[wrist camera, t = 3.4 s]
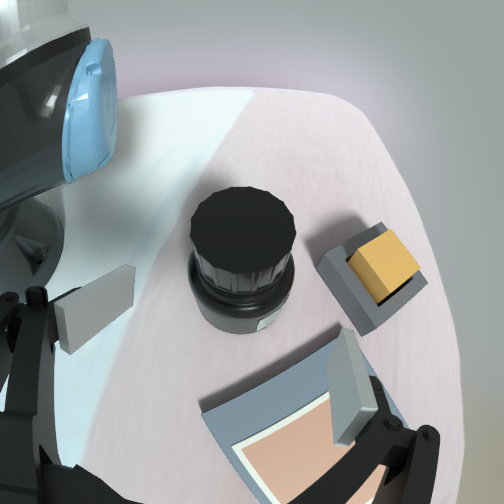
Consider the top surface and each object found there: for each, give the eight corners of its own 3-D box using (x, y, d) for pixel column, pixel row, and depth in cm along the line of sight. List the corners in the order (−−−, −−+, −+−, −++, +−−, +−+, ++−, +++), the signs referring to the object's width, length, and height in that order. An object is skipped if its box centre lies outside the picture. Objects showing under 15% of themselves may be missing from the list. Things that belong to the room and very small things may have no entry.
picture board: (202, 413, 21) (200, 414, 20) (343, 332, 26) (348, 329, 25) (312, 557, 13) (315, 562, 11) (430, 474, 17) (436, 475, 16)
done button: (343, 268, 28) (357, 248, 24) (375, 248, 29) (390, 228, 26) (371, 307, 26) (390, 293, 22) (401, 283, 27) (420, 267, 24)
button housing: (315, 269, 29) (324, 253, 26) (370, 237, 32) (381, 221, 29) (361, 336, 26) (376, 328, 23) (412, 294, 28) (428, 283, 25)
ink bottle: (283, 341, 25) (317, 301, 15) (192, 336, 25) (161, 292, 15) (282, 254, 30) (305, 176, 20) (202, 249, 30) (188, 169, 20)
